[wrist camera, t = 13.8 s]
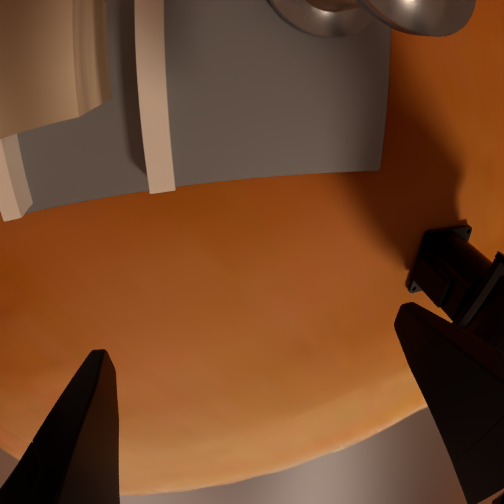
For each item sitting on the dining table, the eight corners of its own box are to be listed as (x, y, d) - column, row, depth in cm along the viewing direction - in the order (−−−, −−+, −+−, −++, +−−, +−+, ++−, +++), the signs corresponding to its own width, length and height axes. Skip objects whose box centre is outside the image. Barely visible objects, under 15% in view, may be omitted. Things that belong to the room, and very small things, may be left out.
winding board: (375, -61, 11) (404, -71, 8) (369, 164, 20) (396, 181, 17) (0, -41, 7) (-23, -52, 4) (21, 206, 15) (2, 231, 13)
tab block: (107, 3, 10) (73, -29, 5) (111, 98, 13) (78, 117, 8) (32, 24, 9) (-31, 13, 4) (38, 115, 12) (-21, 146, 7)
